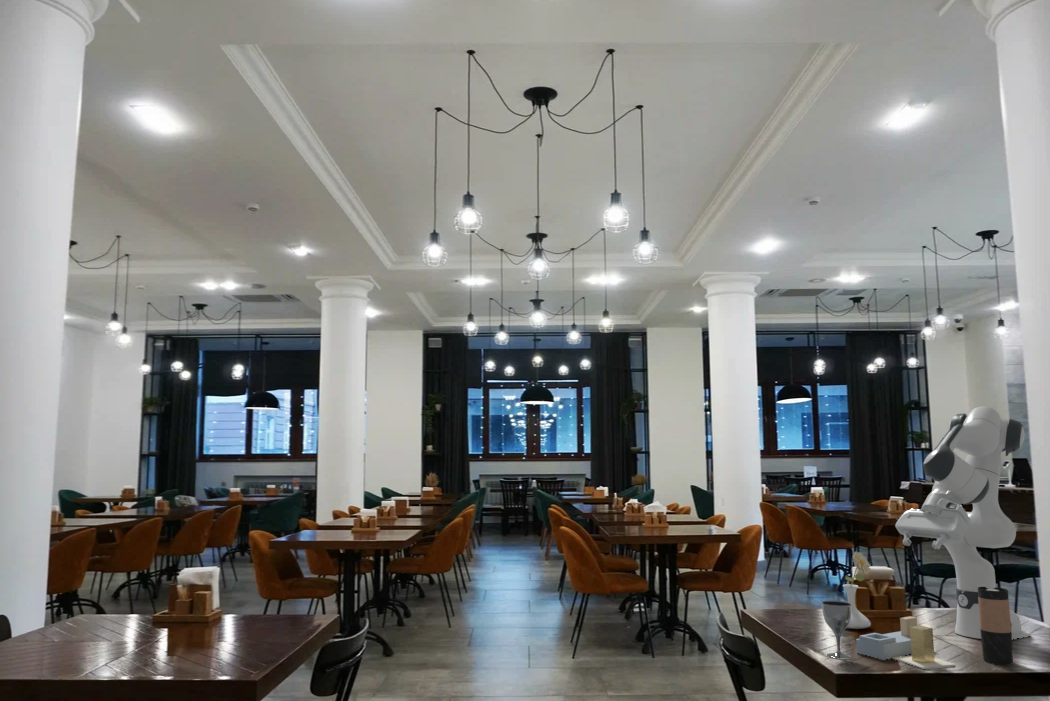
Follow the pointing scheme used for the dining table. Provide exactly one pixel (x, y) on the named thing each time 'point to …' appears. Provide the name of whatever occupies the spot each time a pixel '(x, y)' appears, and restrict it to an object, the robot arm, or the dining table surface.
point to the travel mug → (995, 625)
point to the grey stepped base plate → (887, 642)
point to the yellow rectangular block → (922, 644)
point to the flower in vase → (856, 617)
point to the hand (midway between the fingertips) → (920, 545)
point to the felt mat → (932, 665)
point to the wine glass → (837, 621)
